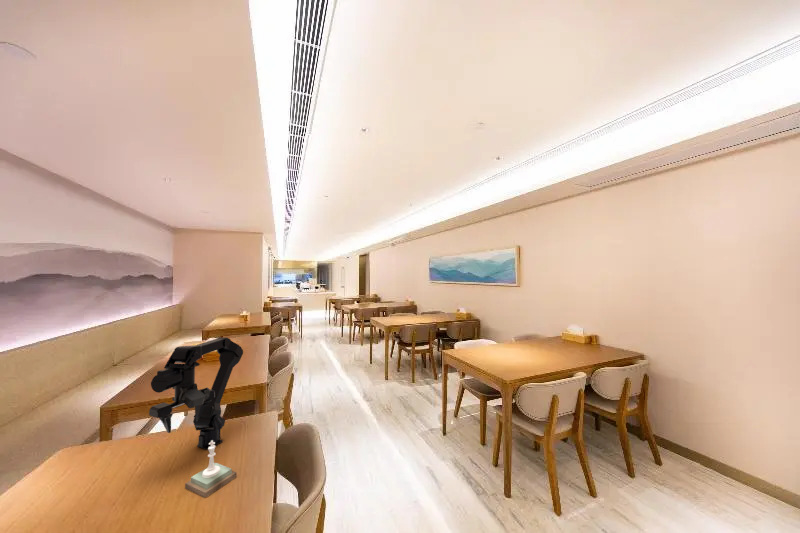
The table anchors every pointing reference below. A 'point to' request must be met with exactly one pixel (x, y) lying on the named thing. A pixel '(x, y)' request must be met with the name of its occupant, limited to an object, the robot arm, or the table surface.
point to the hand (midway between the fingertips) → (183, 426)
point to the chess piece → (211, 463)
